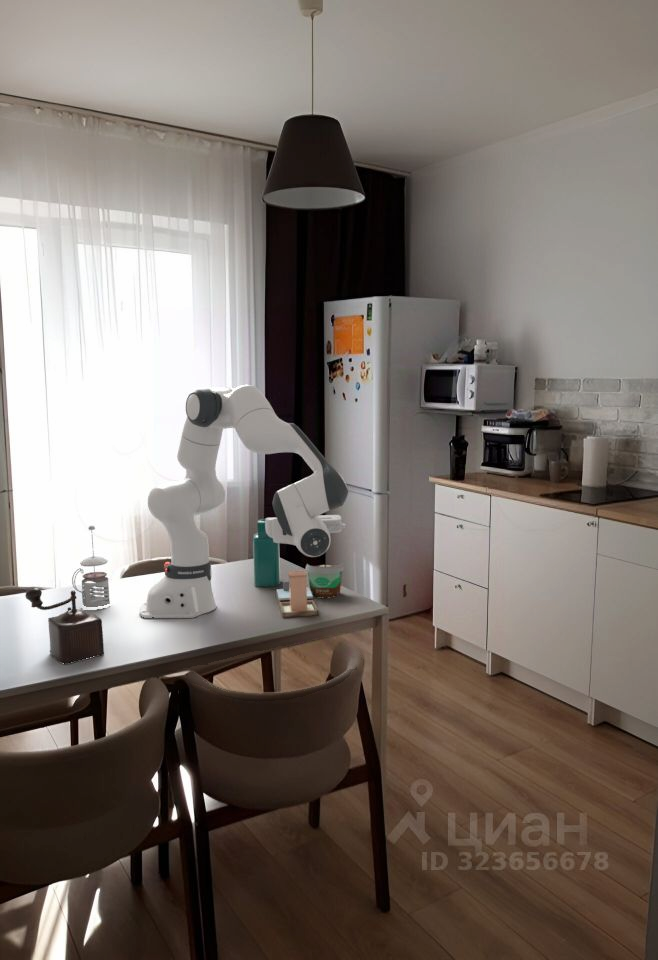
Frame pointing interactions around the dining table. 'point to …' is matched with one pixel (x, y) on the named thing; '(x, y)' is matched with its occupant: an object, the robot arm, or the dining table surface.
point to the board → (287, 612)
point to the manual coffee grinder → (71, 630)
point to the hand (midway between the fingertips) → (300, 519)
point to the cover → (284, 593)
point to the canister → (297, 590)
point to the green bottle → (265, 558)
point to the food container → (325, 579)
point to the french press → (94, 577)
